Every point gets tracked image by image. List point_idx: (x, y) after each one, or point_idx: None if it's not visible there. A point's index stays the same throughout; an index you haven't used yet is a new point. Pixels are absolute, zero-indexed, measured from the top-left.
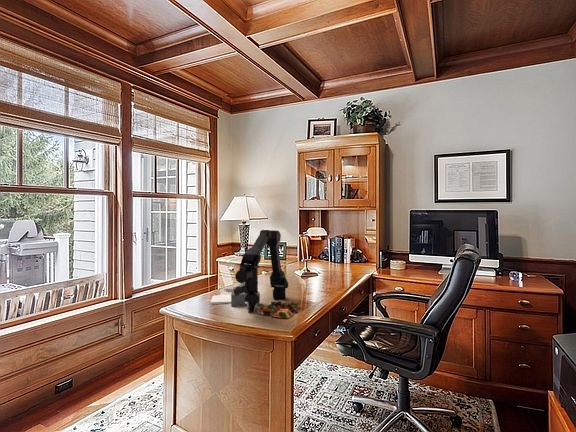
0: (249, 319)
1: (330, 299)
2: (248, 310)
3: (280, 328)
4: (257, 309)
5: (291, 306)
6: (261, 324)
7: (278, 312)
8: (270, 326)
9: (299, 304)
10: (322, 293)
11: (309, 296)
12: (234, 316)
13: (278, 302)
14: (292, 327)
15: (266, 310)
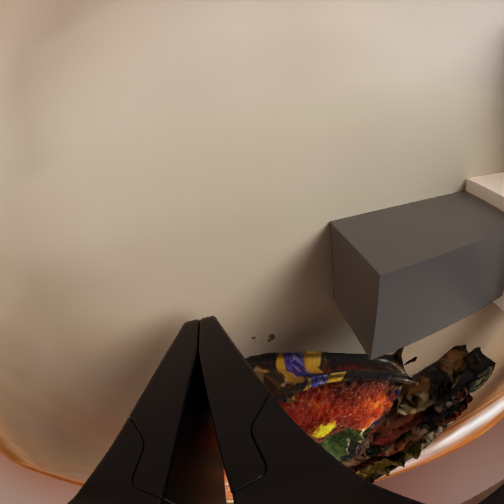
0: (41, 307)
1: (439, 454)
2: (347, 242)
3: (26, 451)
4: (277, 394)
5: (368, 465)
6: (5, 396)
7: (225, 480)
8: (15, 428)
9: (378, 476)
10: (499, 411)
11: (498, 403)
12: (102, 47)
13: (443, 422)
14: (68, 477)
15: None
